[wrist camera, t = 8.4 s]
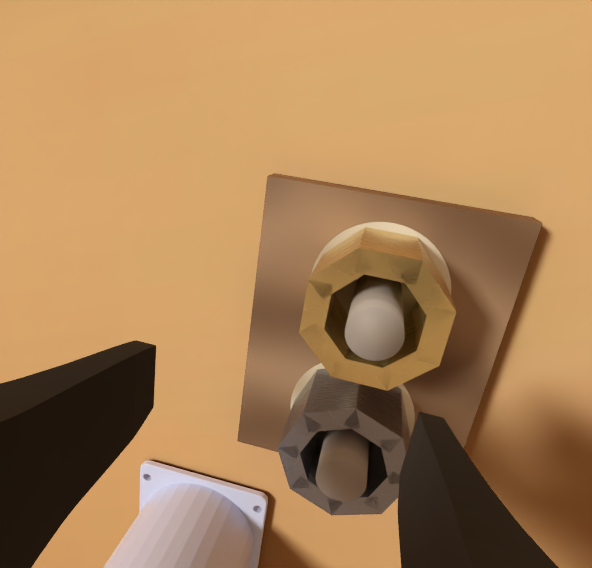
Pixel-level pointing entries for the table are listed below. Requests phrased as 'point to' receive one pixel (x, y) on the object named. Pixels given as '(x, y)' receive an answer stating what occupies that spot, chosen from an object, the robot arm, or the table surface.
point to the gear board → (285, 293)
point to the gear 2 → (336, 416)
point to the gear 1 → (417, 326)
